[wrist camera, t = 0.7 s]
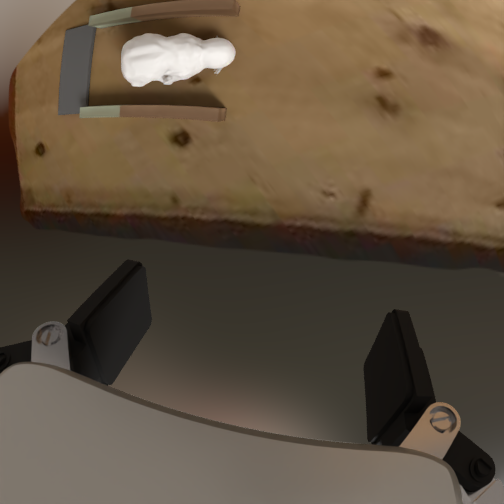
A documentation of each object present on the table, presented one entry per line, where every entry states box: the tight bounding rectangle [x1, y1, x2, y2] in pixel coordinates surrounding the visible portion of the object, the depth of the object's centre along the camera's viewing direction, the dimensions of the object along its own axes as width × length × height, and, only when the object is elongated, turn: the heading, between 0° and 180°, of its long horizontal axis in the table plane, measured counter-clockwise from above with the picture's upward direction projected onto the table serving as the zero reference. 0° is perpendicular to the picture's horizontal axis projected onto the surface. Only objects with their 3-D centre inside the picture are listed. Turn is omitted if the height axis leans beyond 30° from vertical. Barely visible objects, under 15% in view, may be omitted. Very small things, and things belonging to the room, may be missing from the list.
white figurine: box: [121, 33, 236, 87], centre depth 28 cm, size 6×8×12 cm
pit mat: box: [58, 24, 96, 115], centre depth 33 cm, size 14×6×1 cm, turn 173°
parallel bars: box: [80, 0, 240, 122], centre depth 30 cm, size 15×20×3 cm
